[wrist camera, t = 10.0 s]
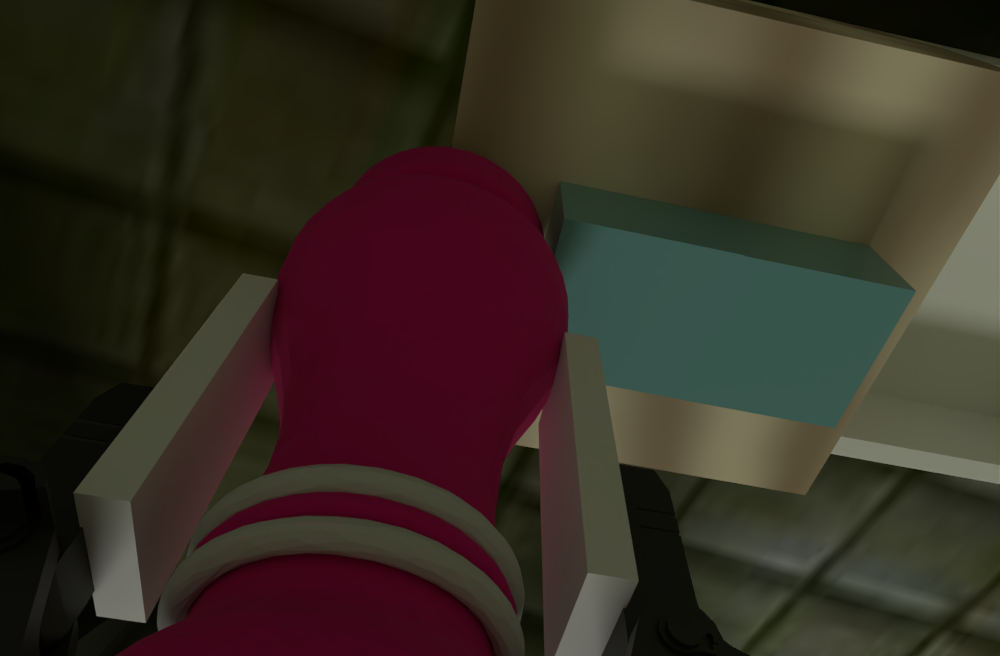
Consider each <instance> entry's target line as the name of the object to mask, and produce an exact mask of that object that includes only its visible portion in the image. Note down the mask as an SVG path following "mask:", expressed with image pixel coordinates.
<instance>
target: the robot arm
mask: <svg viewBox="0 0 1000 656" xmlns="http://www.w3.org/2000/svg"><path fill="white" fill-rule="evenodd" d="M277 295H278V280H277V279H271V278H266V277H260V276H255V275H249V274H244V273H243V274H242V275H241V277H240V278H239V279H238V280H237V282H236V283H235V284H234V286H233V287H232V288H231V289H230V291H229V292H228V293H227V295H226V296H225V297H224V299H223V300H222V301H221V302H220V304H219V305H218V306H217V308H216V309H215V310H214V311H213V313H212V314H211V315H210V317H209V318H208V319H207V320H206V322H205V323H204V324H203V326H202V327H201V328H200V330H199V331H198V332H197V333H196V335H195V336H194V337H193V339H192V340H191V341H190V342H189V344H188V345H187V346H186V348H185V349H184V350H183V352H182V353H181V354H180V355H179V357H178V358H177V359H176V361H175V362H174V363H173V364H172V366H171V367H170V368H169V370H168V371H167V372H166V373H165V375H164V376H163V377H162V379H161V380H160V381H159V383H158V384H157V385H156V386H155V388H151V387H145V386H139V385H133V384H127V383H121V384H119V385H117V386H115V387H114V388H112V389H110V390H108V391H107V392H105V393H103V394H101V395H100V396H98V397H96V398H95V399H94V400H93V401H92V402H91V404H90V405H89V406H88V407H87V408H86V409H85V410H84V411H83V413H82V414H81V415H80V416H79V417H78V421H77V422H74V423H73V424H72V425H71V426H70V427H69V429H68V430H67V431H66V432H65V433H64V437H63V438H60V439H59V440H58V441H57V442H56V443H55V445H54V446H53V447H52V448H51V449H50V450H49V451H48V452H47V454H46V455H45V456H44V457H43V458H42V459H41V460H40V462H39V463H38V464H37V463H34V462H32V461H29V460H27V459H24V458H20V457H5V456H1V457H0V656H116V655H117V654H119V653H120V652H122V651H123V650H125V649H126V648H128V647H129V646H131V645H132V644H134V643H135V642H137V641H138V640H140V639H142V638H145V637H147V636H149V635H151V634H153V633H155V632H157V631H158V627H157V613H158V605H159V602H160V598H161V594H162V592H163V590H164V588H165V586H166V584H167V582H168V580H169V579H170V577H171V575H172V573H173V571H174V569H175V567H176V565H177V563H178V562H179V560H180V558H181V556H182V554H183V552H184V550H185V548H186V547H187V545H188V543H189V541H190V539H191V537H192V535H193V533H194V531H195V529H196V528H197V526H198V524H199V522H200V520H201V518H202V516H203V514H204V513H205V511H206V509H207V507H208V505H209V503H210V501H211V499H212V497H213V496H214V494H215V492H216V490H217V488H218V486H219V484H220V482H221V481H222V479H223V477H224V475H225V473H226V471H227V469H228V467H229V465H230V464H231V462H232V460H233V458H234V456H235V454H236V452H237V450H238V448H239V447H240V445H241V443H242V441H243V439H244V437H245V435H246V433H247V431H248V430H249V428H250V426H251V424H252V422H253V420H254V418H255V416H256V414H257V413H258V411H259V409H260V407H261V405H262V403H263V401H264V399H265V398H266V396H267V394H268V392H269V390H270V388H271V386H272V384H273V382H274V381H275V380H274V375H273V369H272V364H271V354H270V340H271V329H272V319H273V312H274V307H275V303H276V299H277ZM538 427H539V465H540V503H541V541H542V579H543V617H544V655H545V656H750V655H747V654H745V653H743V652H741V651H739V650H738V649H736V648H734V647H732V646H731V645H729V644H728V643H727V642H725V641H724V640H723V638H722V636H721V634H720V632H719V631H718V629H717V627H716V625H715V623H714V622H713V621H712V620H711V619H710V618H709V617H708V616H707V615H706V614H705V613H704V612H703V611H702V610H700V609H699V607H698V604H697V601H696V597H695V593H694V589H693V585H692V581H691V577H690V573H689V569H688V565H687V561H686V557H685V553H684V549H683V544H682V540H681V536H679V528H678V524H677V520H676V518H674V515H675V512H674V508H673V504H672V500H671V496H670V492H669V491H668V489H667V488H666V486H665V485H664V484H663V482H662V481H661V479H660V478H659V477H658V475H657V474H656V472H655V471H653V470H647V469H641V468H635V467H629V466H623V465H619V461H618V456H617V450H616V444H615V438H614V432H613V426H612V420H611V414H610V409H609V403H608V397H607V391H606V385H605V379H604V373H603V367H602V361H601V356H600V350H599V344H598V338H594V337H589V336H584V335H578V334H573V333H567V332H565V334H564V337H563V341H562V344H561V348H560V355H559V362H558V367H557V371H556V375H555V379H554V383H553V386H552V389H551V392H550V395H549V398H548V400H547V403H546V404H545V406H544V407H543V410H542V413H541V417H540V420H539V424H538Z"/></svg>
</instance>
